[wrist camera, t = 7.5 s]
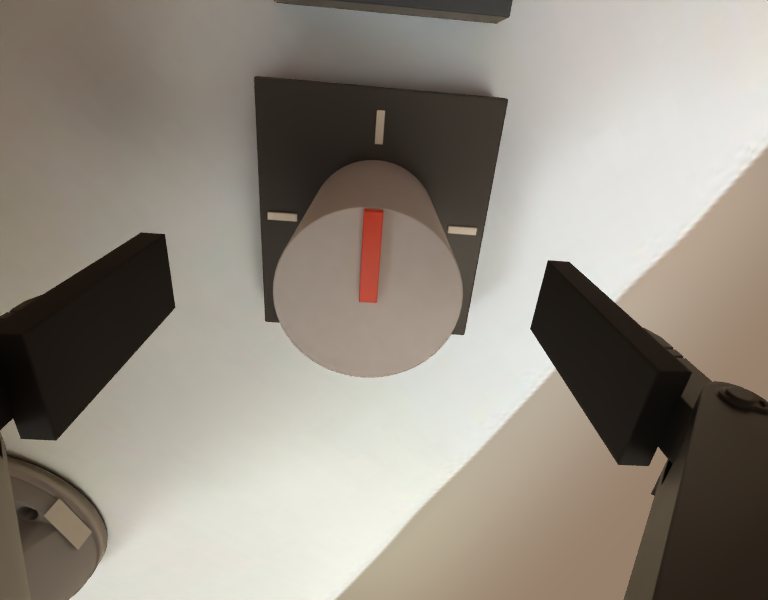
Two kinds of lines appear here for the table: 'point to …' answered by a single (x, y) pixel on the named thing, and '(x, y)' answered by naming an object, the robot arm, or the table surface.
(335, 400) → the table surface
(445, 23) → the table surface
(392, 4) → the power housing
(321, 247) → the timer dial
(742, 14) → the table surface
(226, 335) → the table surface
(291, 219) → the panel
